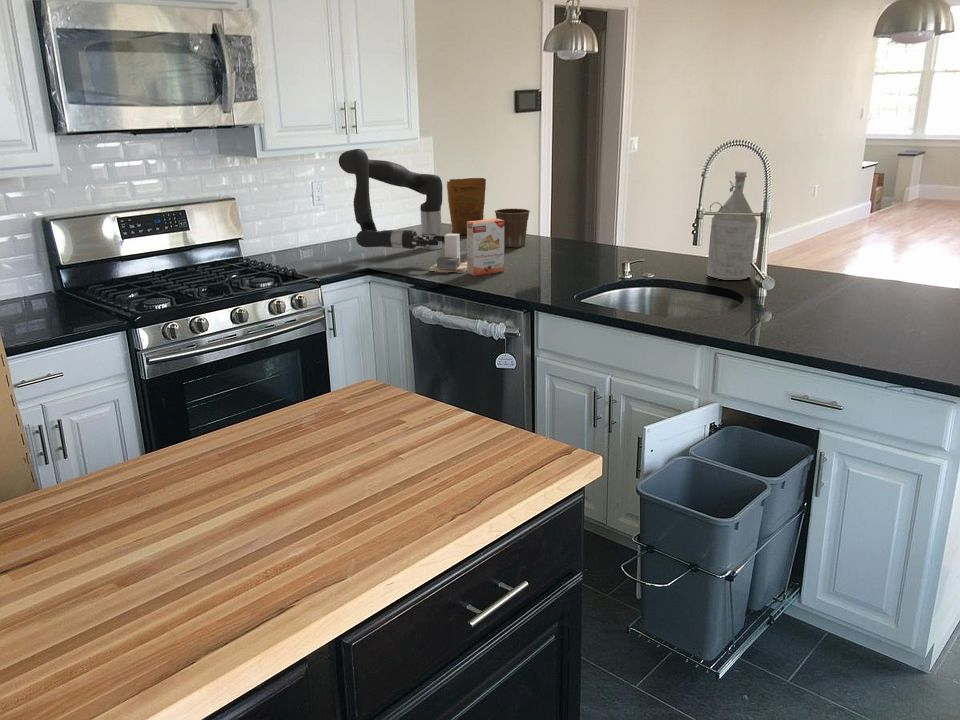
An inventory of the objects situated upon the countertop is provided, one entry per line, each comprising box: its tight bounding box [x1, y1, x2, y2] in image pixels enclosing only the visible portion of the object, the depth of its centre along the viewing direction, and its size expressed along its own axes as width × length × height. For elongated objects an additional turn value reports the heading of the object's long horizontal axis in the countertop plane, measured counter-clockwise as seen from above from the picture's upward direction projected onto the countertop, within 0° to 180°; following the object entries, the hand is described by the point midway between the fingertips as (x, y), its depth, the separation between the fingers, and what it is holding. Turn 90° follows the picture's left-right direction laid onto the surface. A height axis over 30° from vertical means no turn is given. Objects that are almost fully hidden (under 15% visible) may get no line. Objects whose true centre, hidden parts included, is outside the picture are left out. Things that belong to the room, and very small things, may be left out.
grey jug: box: [706, 169, 758, 278], centre depth 288 cm, size 13×17×40 cm
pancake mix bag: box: [446, 177, 487, 236], centre depth 384 cm, size 7×19×28 cm, turn 85°
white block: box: [444, 233, 461, 261], centre depth 317 cm, size 4×5×12 cm
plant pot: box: [494, 208, 531, 249], centre depth 358 cm, size 16×16×16 cm
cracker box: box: [466, 218, 505, 277], centre depth 305 cm, size 14×6×21 cm, turn 117°
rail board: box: [429, 250, 467, 274], centre depth 318 cm, size 18×14×5 cm
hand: (441, 240), depth 317 cm, fingers open, 8 cm apart
